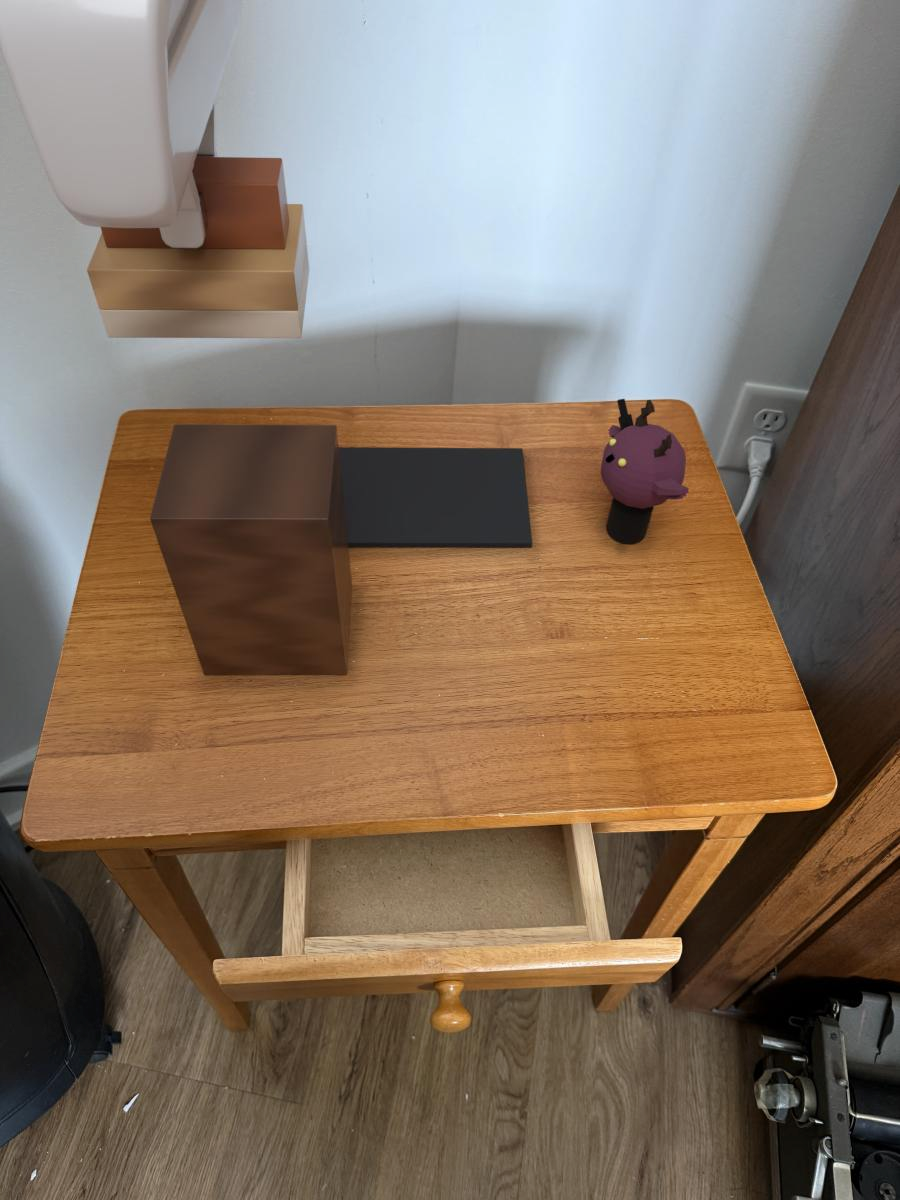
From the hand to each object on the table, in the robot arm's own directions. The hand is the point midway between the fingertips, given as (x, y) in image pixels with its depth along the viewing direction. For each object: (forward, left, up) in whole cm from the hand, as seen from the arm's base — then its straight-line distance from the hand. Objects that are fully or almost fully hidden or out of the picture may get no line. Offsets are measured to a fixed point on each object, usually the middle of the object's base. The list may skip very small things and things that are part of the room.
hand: (194, 216), depth 40 cm
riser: (0, 0, -32) cm, 32 cm away
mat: (+9, +14, -32) cm, 35 cm away
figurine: (+27, +10, -32) cm, 43 cm away
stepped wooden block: (0, 0, -4) cm, 4 cm away
